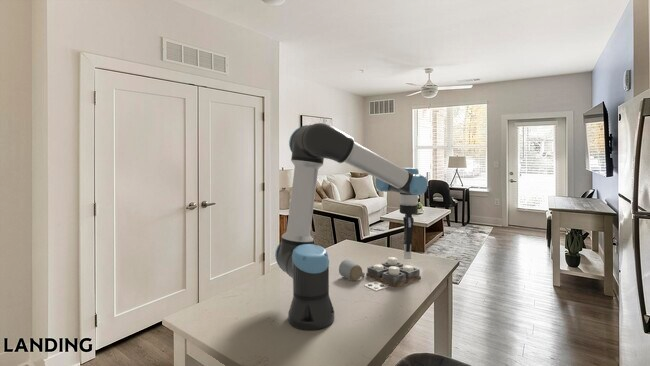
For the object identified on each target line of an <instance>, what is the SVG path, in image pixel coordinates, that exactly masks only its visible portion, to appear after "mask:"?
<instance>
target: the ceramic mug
mask: <svg viewBox="0 0 650 366" xmlns="http://www.w3.org/2000/svg"><path fill="white" fill-rule="evenodd" d="M338 273H339V275H340V276H341V277H342V278H345V279H347V280H350V281H352V282H356V281H358V280H360V279H361V278H364V277H365V272H363V268H362V267H361V265H360V264H358V263H356V262H354V261H352V260H350V259H343V260H342V261H341V262H340V264H339V267H338Z"/></svg>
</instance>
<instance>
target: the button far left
mask: <svg viewBox="0 0 650 366" xmlns="http://www.w3.org/2000/svg"><path fill="white" fill-rule="evenodd" d="M386 262H387V264H388V265H391V266H395V265H397V262H398V258H397V257H393V256H389V257H387V261H386Z"/></svg>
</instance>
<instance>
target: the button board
mask: <svg viewBox="0 0 650 366" xmlns="http://www.w3.org/2000/svg"><path fill="white" fill-rule="evenodd" d="M381 265H383V266H384V269H382V270H379V271H378V270H375V269H373V265H371V266H368V267H367V269H366V270H367V271H366V277H367V278H371V279H373V280H375V281H377V282H380V283H382V284H385V285H387V286H391V287H392V288H395V289H396V288H399V287H403V286H405V285H407V284H411V283H412V282H416V281H419V280H421V278H422V275H420V270H421V269H420V268H417V267H414V266H413V271H410V272H408V271H405V270H403V266H404V263H401V262H398V261H397V265H395V267H399V268H400V270H399V275H398V276H395V277H394V276H391V275H389V267H391V265H388V264H387V261H385V262H381Z"/></svg>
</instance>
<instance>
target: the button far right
mask: <svg viewBox="0 0 650 366" xmlns="http://www.w3.org/2000/svg"><path fill="white" fill-rule="evenodd" d="M413 267H414V266H412V265H410V264H409V265H408V264H407V265H403V270H405V271H408V272H410V271H413Z"/></svg>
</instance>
